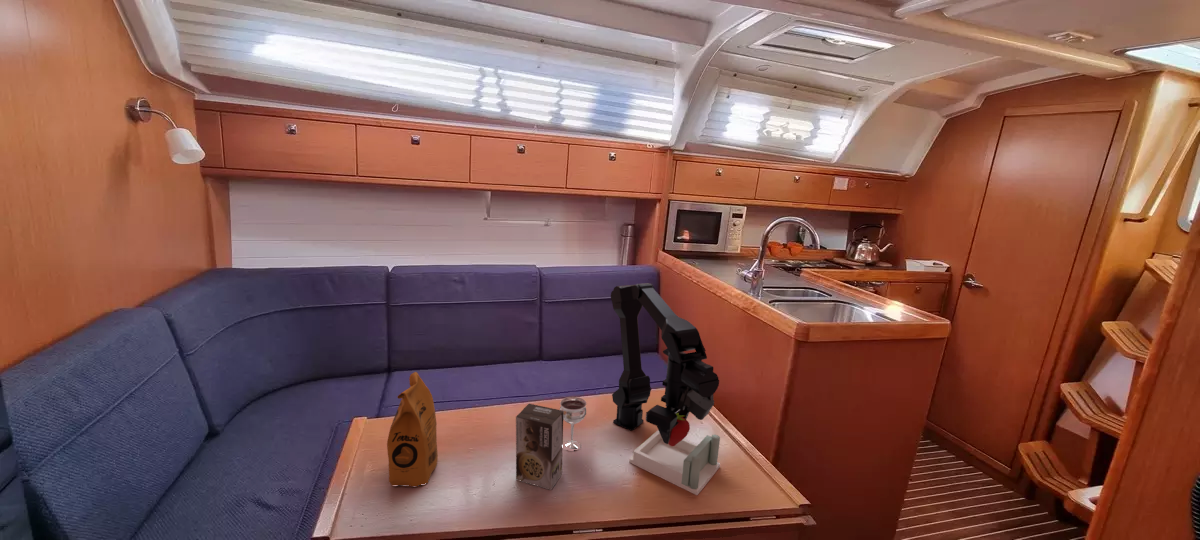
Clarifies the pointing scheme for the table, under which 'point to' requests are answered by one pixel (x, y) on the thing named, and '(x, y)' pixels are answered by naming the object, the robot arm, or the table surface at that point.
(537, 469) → the coffee box
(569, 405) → the wineglass
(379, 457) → the table surface
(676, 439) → the strawberry
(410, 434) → the coffee package
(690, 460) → the cradle stand
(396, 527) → the table surface
